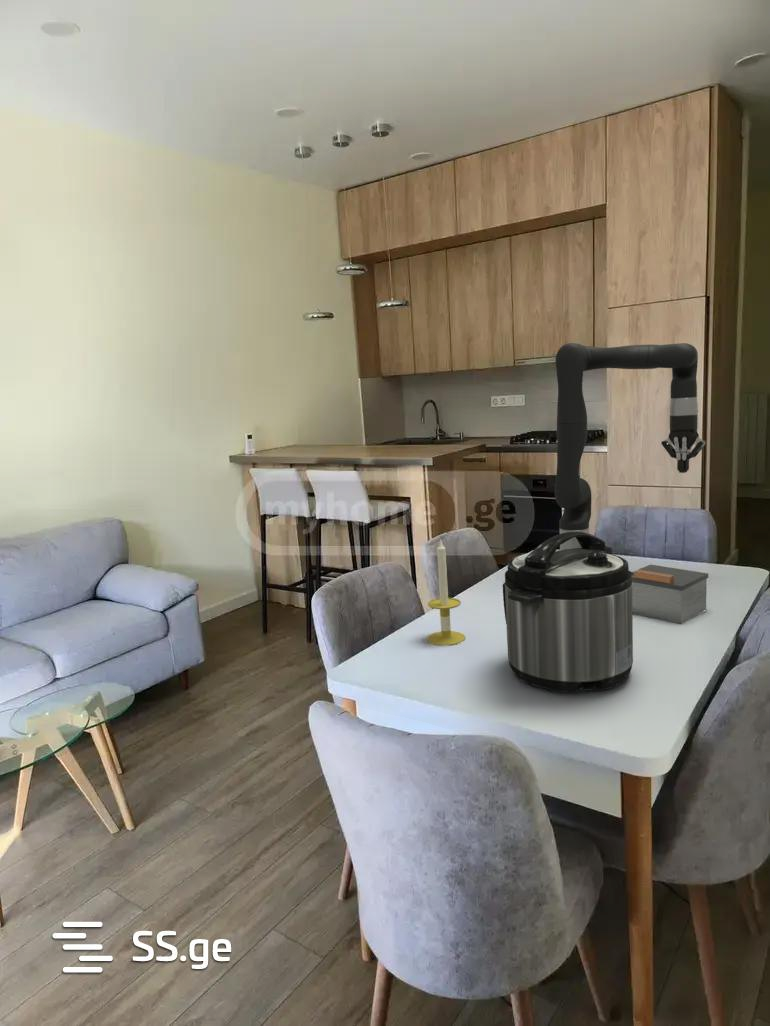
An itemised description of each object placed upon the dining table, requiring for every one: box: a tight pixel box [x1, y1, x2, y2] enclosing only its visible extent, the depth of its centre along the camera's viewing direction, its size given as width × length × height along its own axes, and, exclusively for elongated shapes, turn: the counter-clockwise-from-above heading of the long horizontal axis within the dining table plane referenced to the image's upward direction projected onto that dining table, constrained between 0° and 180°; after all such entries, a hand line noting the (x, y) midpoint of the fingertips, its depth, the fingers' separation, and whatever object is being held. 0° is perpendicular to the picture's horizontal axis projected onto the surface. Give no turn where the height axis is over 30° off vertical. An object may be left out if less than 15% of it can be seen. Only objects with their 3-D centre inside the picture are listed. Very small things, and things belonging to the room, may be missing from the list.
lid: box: [631, 564, 709, 591], centre depth 183 cm, size 17×15×3 cm
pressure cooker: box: [502, 532, 634, 693], centre depth 148 cm, size 30×28×32 cm
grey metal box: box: [632, 578, 708, 625], centre depth 184 cm, size 16×14×9 cm
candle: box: [426, 538, 466, 646], centre depth 174 cm, size 10×10×27 cm
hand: (683, 472), depth 199 cm, fingers closed
